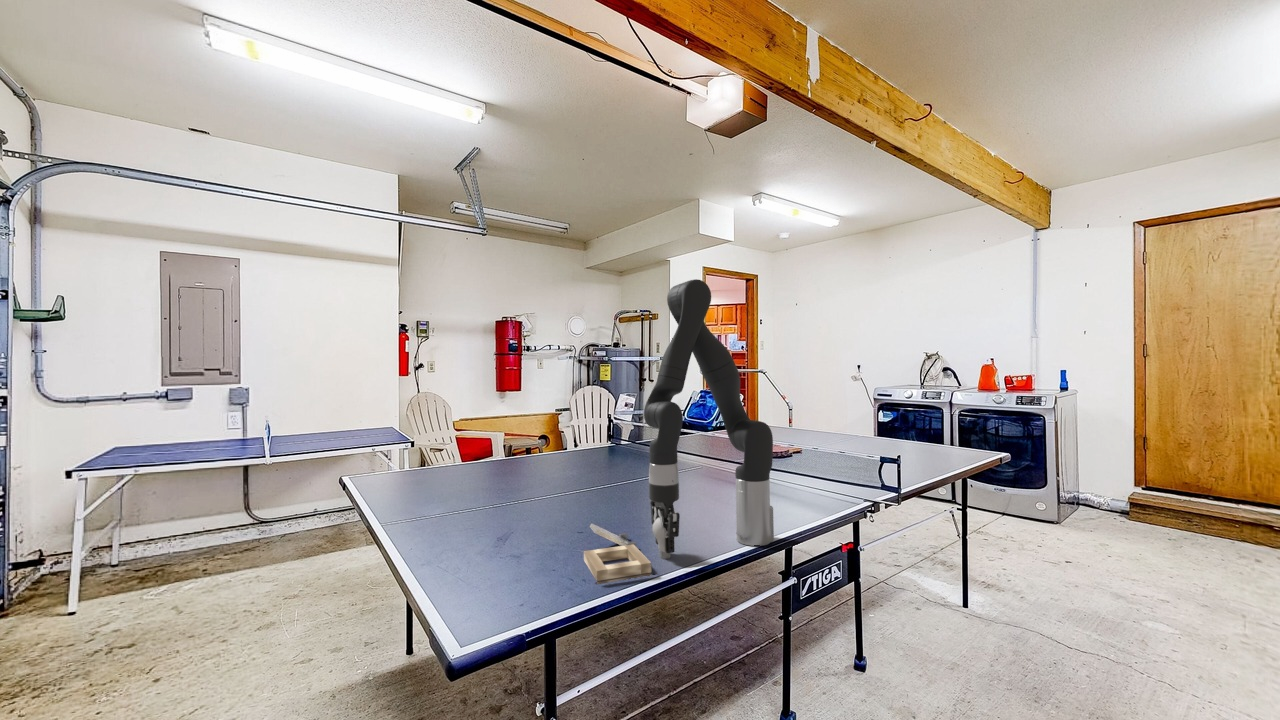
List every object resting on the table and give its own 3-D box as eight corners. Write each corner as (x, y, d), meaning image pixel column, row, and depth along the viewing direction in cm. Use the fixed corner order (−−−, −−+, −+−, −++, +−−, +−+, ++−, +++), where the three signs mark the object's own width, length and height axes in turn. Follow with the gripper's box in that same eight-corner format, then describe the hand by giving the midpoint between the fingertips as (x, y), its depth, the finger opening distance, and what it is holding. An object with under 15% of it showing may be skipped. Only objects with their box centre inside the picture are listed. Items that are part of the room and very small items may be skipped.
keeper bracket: (626, 541, 138) (626, 532, 138) (636, 552, 130) (636, 543, 130) (619, 542, 138) (619, 533, 138) (629, 553, 129) (629, 544, 129)
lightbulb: (675, 565, 121) (675, 520, 121) (651, 564, 122) (650, 519, 122) (678, 556, 127) (678, 513, 127) (655, 554, 128) (654, 512, 128)
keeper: (594, 533, 128) (596, 528, 128) (589, 527, 133) (591, 522, 134) (631, 551, 131) (634, 546, 131) (625, 544, 137) (627, 539, 137)
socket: (633, 556, 127) (633, 544, 128) (651, 575, 115) (651, 562, 115) (583, 563, 123) (583, 551, 123) (596, 584, 111) (596, 570, 111)
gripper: (689, 485, 119) (690, 556, 119) (666, 473, 133) (667, 537, 132) (660, 488, 117) (661, 560, 116) (640, 476, 130) (641, 540, 130)
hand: (664, 547), depth 124 cm, fingers closed on lightbulb, 6 cm apart
